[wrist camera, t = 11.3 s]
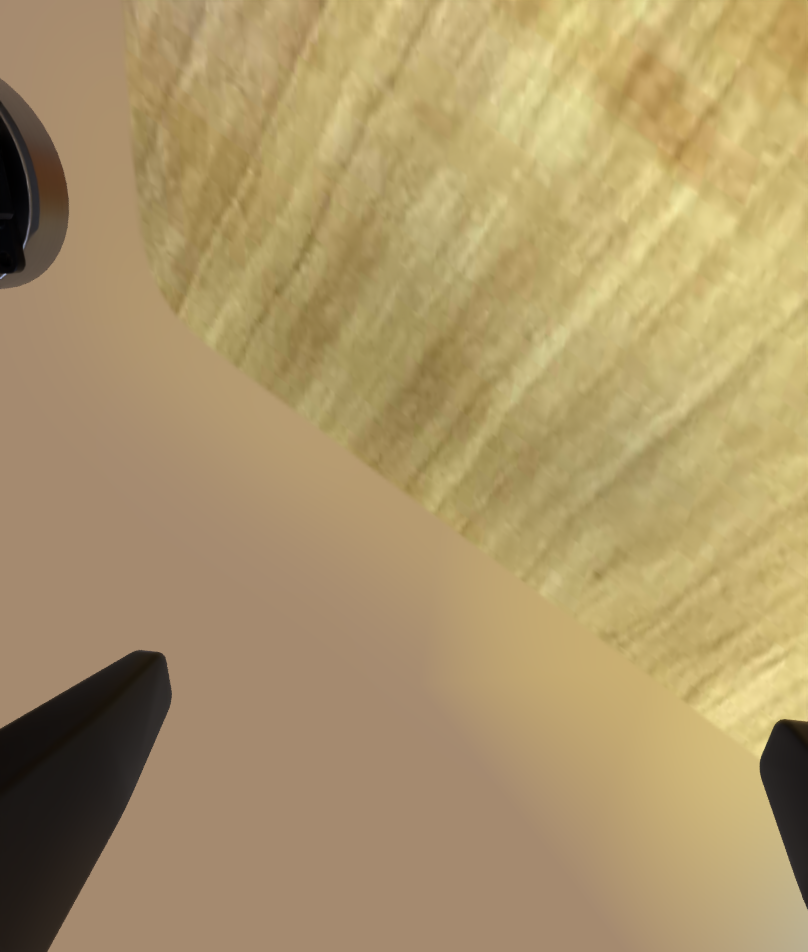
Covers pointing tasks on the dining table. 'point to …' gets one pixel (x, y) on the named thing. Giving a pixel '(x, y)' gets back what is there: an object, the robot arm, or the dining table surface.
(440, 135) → the dining table surface
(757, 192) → the dining table surface
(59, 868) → the robot arm
